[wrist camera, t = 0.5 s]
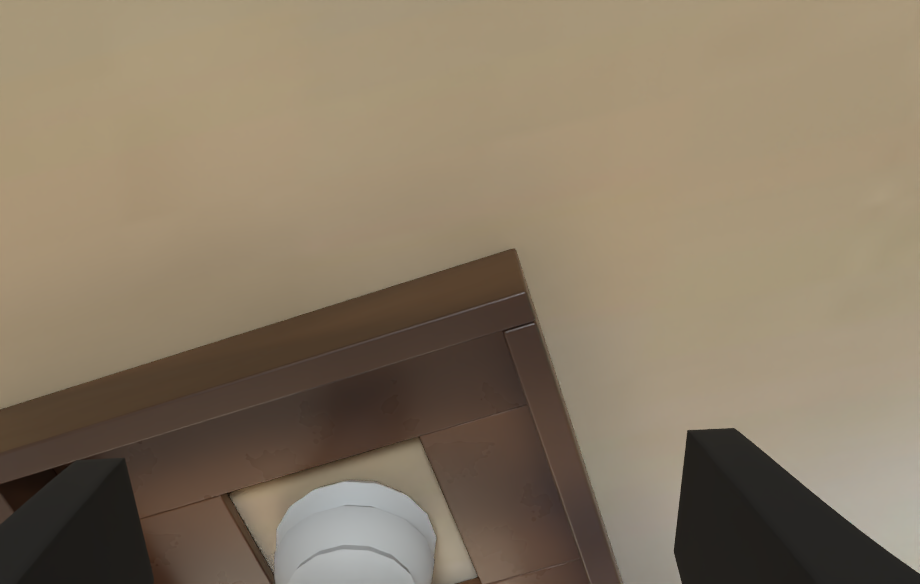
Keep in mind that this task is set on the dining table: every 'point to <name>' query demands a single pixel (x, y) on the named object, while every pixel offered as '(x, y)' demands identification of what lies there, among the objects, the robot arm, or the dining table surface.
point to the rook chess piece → (355, 537)
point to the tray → (340, 428)
